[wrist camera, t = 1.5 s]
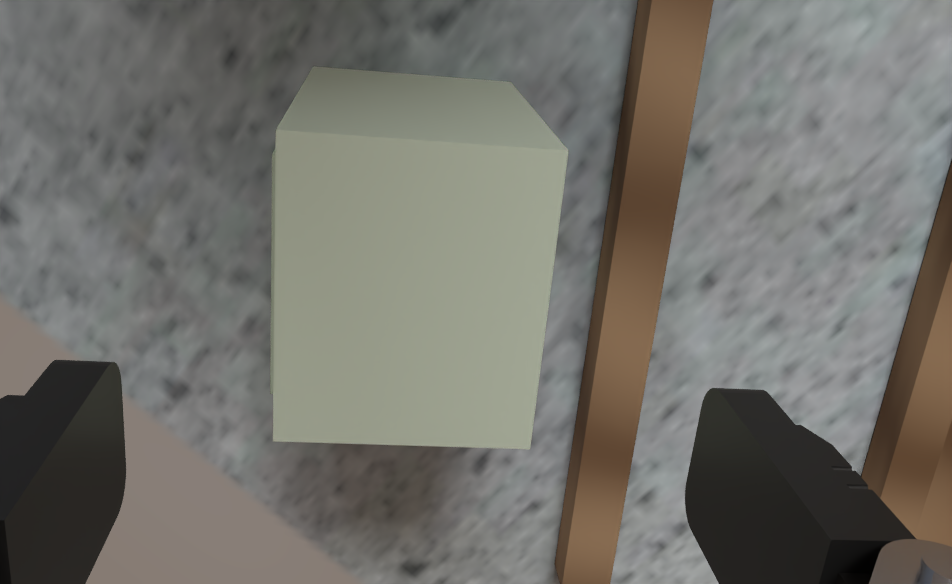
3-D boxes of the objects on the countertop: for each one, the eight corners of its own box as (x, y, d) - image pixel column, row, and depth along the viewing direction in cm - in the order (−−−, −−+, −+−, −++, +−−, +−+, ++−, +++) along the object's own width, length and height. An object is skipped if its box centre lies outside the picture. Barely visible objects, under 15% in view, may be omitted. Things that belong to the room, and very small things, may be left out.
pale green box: (307, 65, 22) (266, 129, 15) (510, 81, 23) (568, 150, 16) (302, 288, 24) (264, 440, 17) (488, 298, 25) (530, 449, 18)
